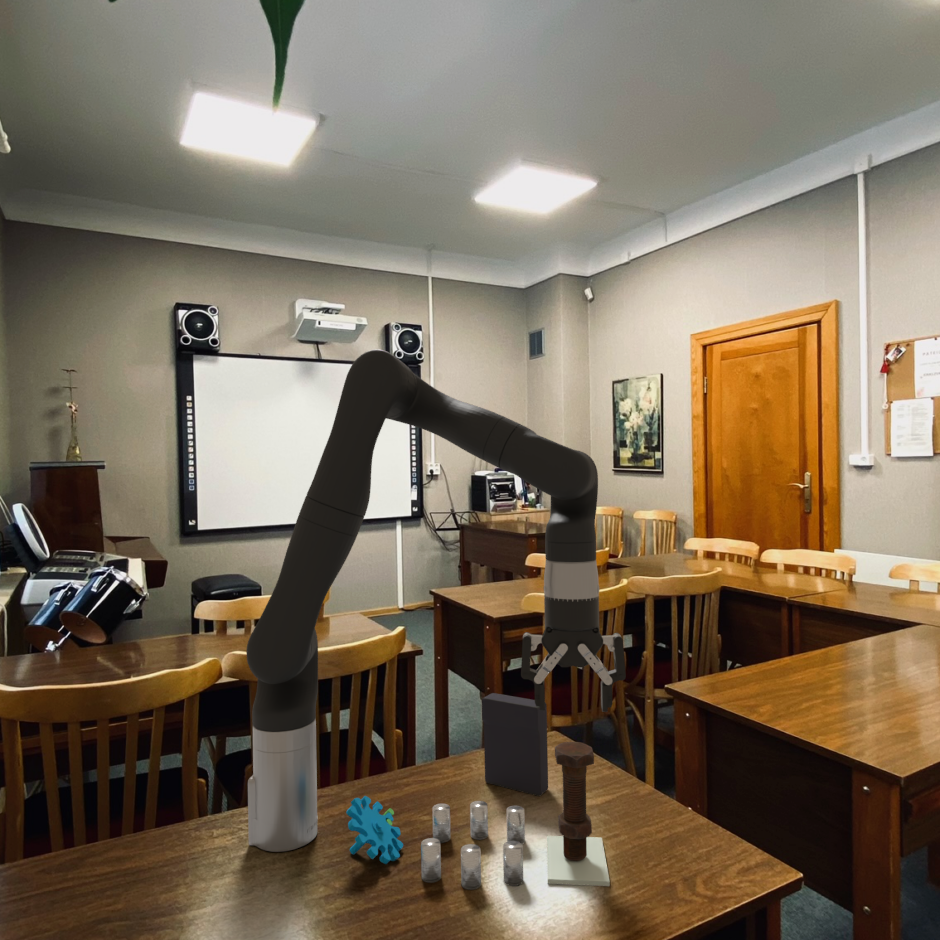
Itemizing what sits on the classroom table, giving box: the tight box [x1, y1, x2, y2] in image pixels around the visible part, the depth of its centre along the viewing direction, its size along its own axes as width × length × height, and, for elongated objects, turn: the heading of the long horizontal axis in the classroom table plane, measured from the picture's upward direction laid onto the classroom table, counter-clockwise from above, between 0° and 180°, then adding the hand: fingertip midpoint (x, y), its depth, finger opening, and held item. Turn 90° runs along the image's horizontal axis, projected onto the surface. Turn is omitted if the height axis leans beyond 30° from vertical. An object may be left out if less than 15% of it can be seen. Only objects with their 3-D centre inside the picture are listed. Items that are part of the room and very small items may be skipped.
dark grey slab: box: [481, 692, 549, 797], centre depth 119 cm, size 11×4×15 cm, turn 58°
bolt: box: [554, 741, 595, 861], centre depth 95 cm, size 6×5×15 cm
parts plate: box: [546, 835, 611, 887], centre depth 95 cm, size 8×11×1 cm
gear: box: [345, 795, 404, 865], centre depth 98 cm, size 11×6×10 cm
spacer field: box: [420, 800, 526, 891], centre depth 96 cm, size 14×15×4 cm
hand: (573, 709), depth 95 cm, fingers open, 8 cm apart
